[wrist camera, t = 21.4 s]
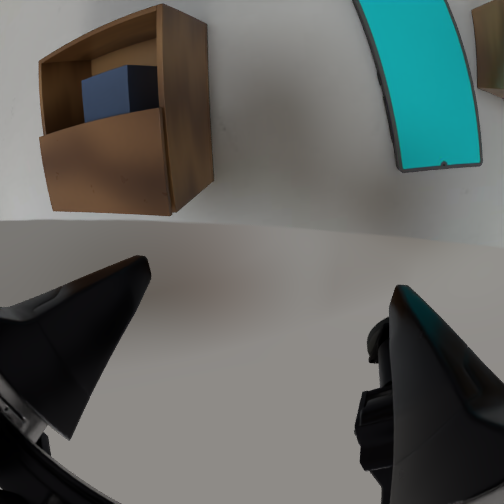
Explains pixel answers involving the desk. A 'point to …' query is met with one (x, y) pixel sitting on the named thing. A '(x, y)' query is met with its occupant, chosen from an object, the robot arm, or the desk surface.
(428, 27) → the smartphone
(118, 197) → the flap
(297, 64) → the desk surface
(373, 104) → the desk surface
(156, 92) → the block
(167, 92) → the carton
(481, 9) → the brown rectangular block
